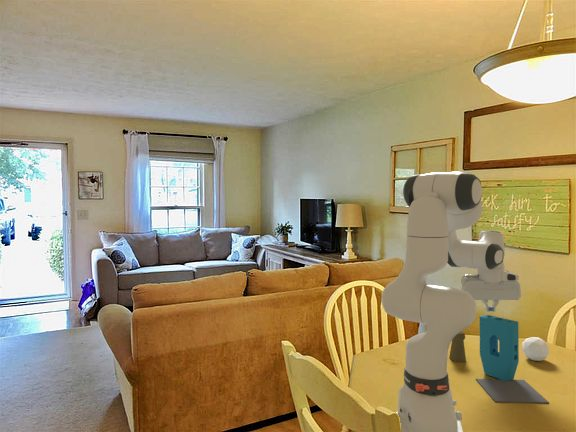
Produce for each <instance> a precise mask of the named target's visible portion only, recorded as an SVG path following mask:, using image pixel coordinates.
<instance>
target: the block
mask: <svg viewBox="0 0 576 432" xmlns="http://www.w3.org/2000/svg"><path fill="white" fill-rule="evenodd" d="M519 341H520V340H519V321H517V320H513V319H508V318H504V317H499V316H495V315H491V314H490V315H489V314H483V315H479V356H480V359H481V364H482V367H483V368H482V369H483V373H484V375H487V376H490V377H493V378H494V379H501V380H503V381H510V380H515V379H514V378H515V375H516V371H517V367H518V365H519V359H520V358H519V357H520V353H519Z"/></svg>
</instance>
